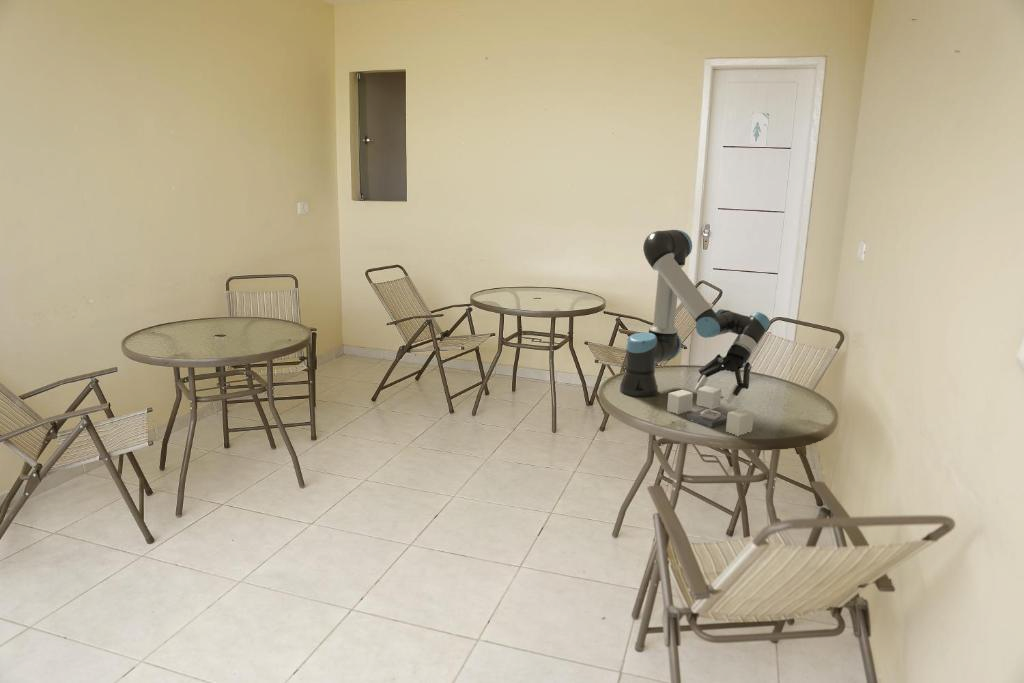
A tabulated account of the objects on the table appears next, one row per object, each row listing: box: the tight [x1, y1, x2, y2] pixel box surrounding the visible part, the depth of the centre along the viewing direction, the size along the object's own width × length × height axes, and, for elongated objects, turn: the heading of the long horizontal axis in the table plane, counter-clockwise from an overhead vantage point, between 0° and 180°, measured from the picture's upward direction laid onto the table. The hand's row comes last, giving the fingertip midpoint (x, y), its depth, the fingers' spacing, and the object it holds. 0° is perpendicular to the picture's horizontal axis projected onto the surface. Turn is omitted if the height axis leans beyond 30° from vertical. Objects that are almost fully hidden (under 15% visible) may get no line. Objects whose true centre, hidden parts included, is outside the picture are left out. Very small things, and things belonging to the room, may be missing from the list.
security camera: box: [696, 385, 722, 420], centre depth 247 cm, size 6×7×10 cm
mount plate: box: [686, 408, 727, 429], centre depth 248 cm, size 11×10×2 cm
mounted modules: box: [666, 389, 755, 436], centre depth 247 cm, size 31×8×7 cm, turn 37°
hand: (711, 396), depth 246 cm, fingers open, 13 cm apart
